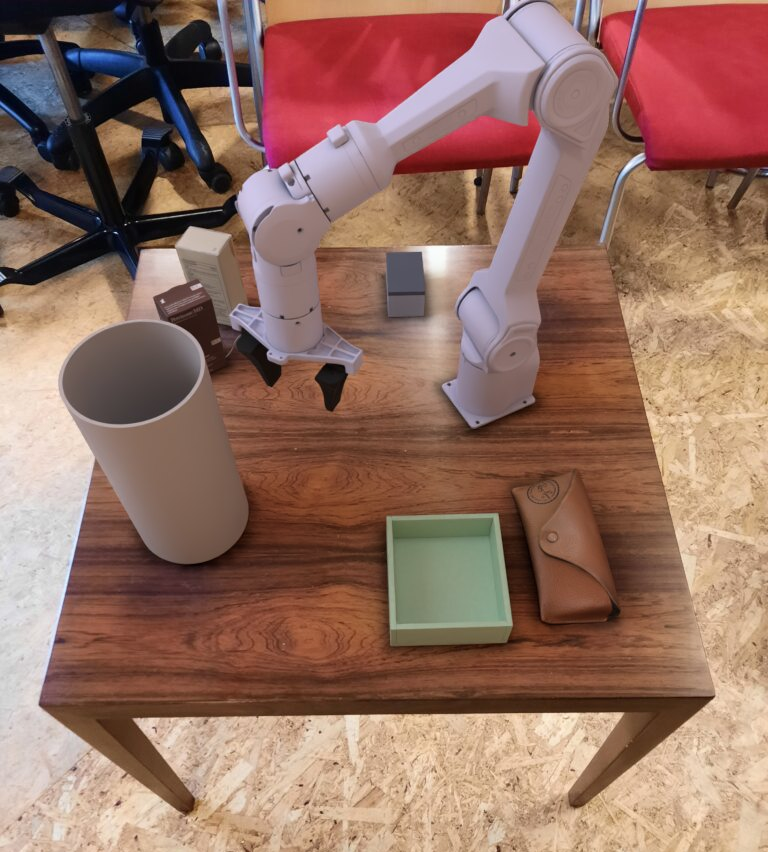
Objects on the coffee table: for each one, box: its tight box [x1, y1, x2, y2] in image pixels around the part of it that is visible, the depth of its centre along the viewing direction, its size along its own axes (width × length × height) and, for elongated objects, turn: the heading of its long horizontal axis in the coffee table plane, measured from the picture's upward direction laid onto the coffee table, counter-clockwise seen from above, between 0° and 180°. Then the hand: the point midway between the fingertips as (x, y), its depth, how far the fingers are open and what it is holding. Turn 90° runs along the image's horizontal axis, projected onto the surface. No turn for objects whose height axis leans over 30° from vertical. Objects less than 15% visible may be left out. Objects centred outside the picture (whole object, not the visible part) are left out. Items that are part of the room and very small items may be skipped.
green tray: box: [385, 512, 514, 647], centre depth 78 cm, size 12×13×5 cm
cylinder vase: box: [57, 318, 250, 565], centre depth 74 cm, size 12×12×25 cm
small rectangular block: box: [385, 251, 426, 318], centre depth 102 cm, size 5×8×4 cm, turn 2°
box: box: [152, 279, 228, 374], centre depth 92 cm, size 6×4×12 cm
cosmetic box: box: [174, 225, 250, 327], centre depth 97 cm, size 6×4×12 cm
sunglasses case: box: [511, 468, 622, 625], centre depth 81 cm, size 18×7×7 cm
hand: (303, 392), depth 82 cm, fingers open, 7 cm apart
